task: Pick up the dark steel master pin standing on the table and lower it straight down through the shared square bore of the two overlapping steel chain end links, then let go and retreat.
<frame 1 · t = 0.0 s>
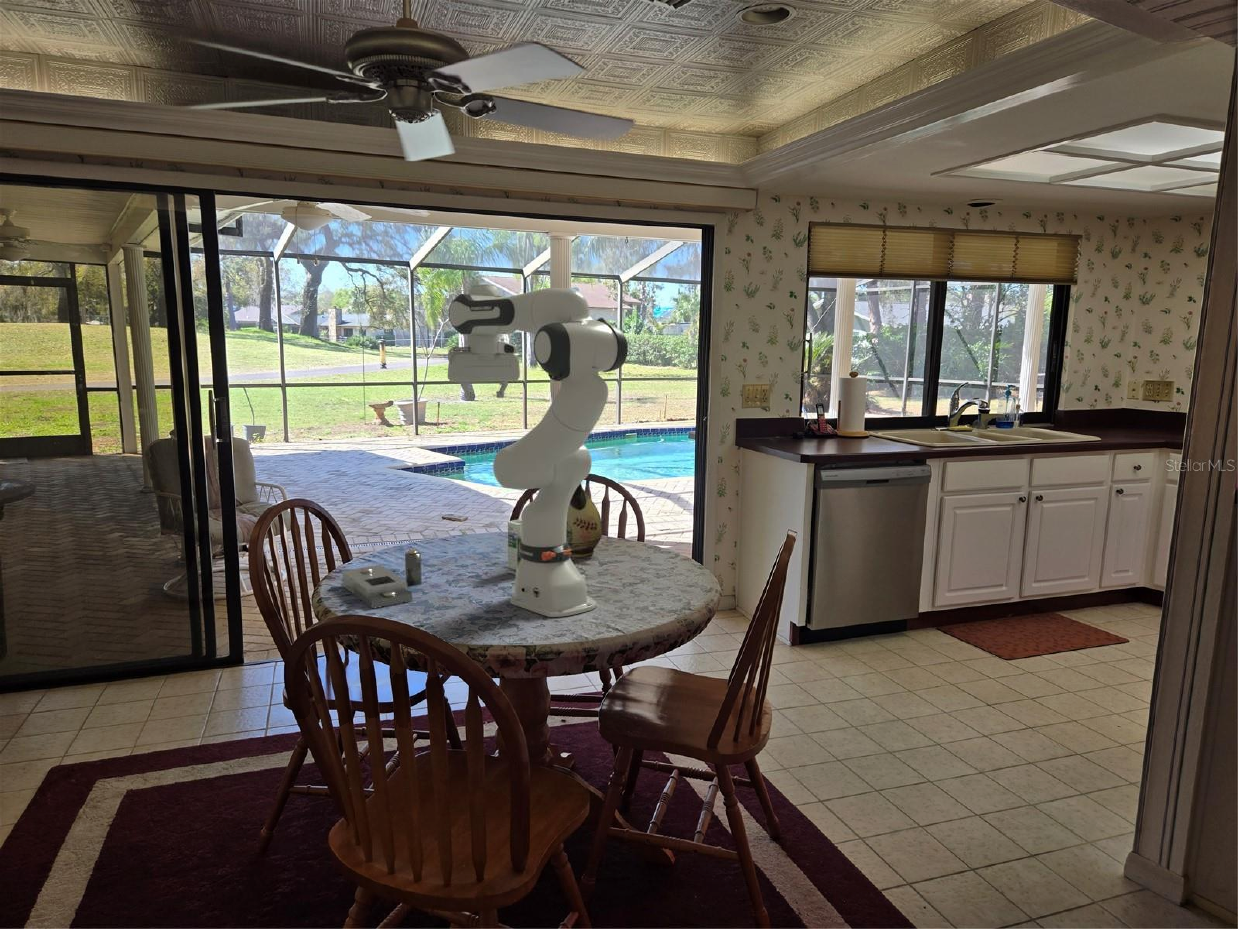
hand: (484, 398, 210), 48 cm above the table, fingers open, 8 cm apart
inner link end: (380, 596, 193), on the table
master pin: (413, 583, 204), on the table
ceramic jug: (577, 555, 233), on the table
syrup box: (521, 573, 214), on the table
outer link end: (380, 596, 193), on the table
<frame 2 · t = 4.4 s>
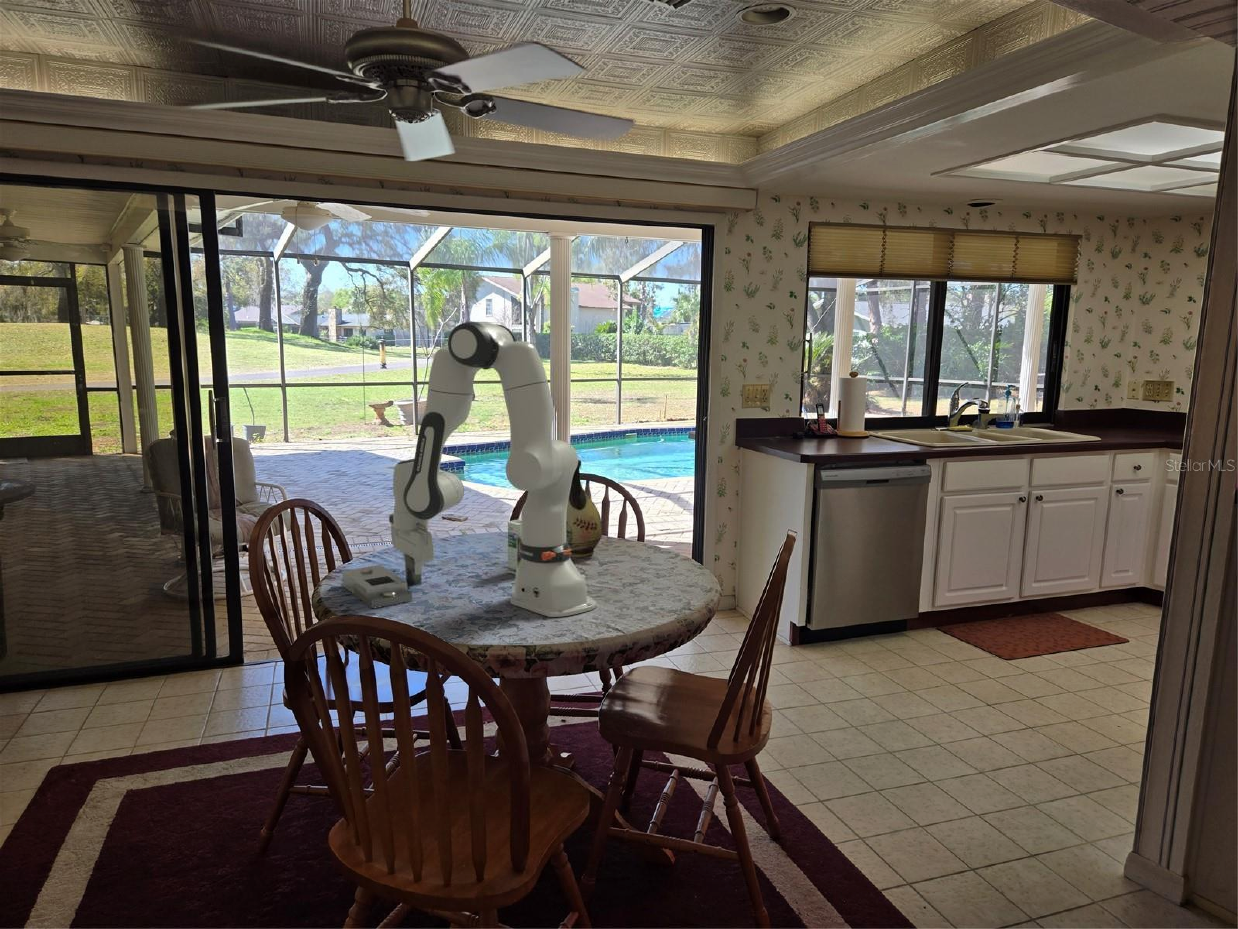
hand: (413, 571, 203), 3 cm above the table, fingers closed on master pin, 4 cm apart
master pin: (413, 583, 204), on the table, touching gripper
everything else where it was.
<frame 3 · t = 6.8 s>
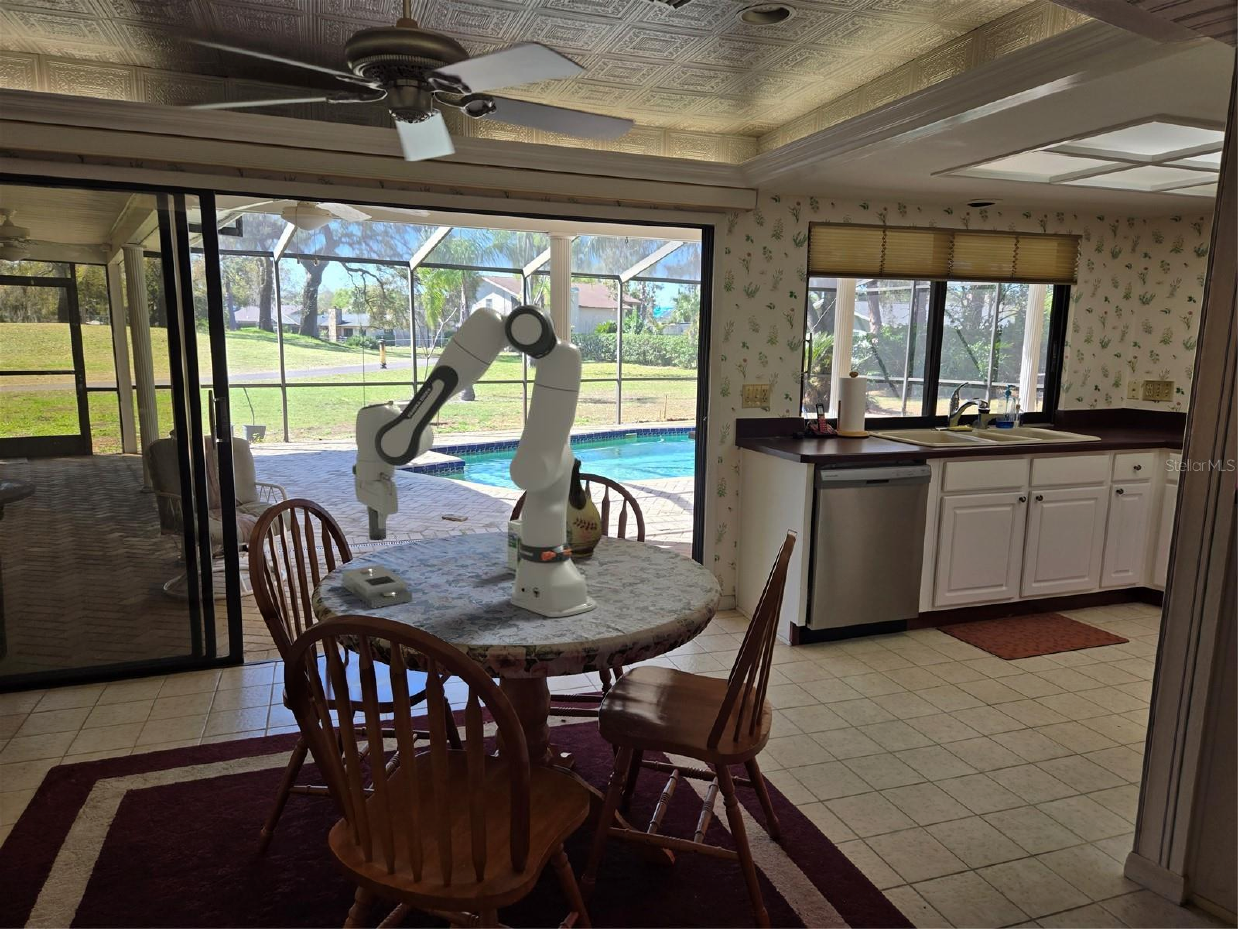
hand: (377, 526, 190), 18 cm above the table, fingers closed on master pin, 4 cm apart
master pin: (377, 538, 190), point 15 cm above the table, touching gripper
everything else where it was.
when the fingers open (5 cm above the table, at t = 9.4 s): master pin drops 1 cm, resting in inner link end.
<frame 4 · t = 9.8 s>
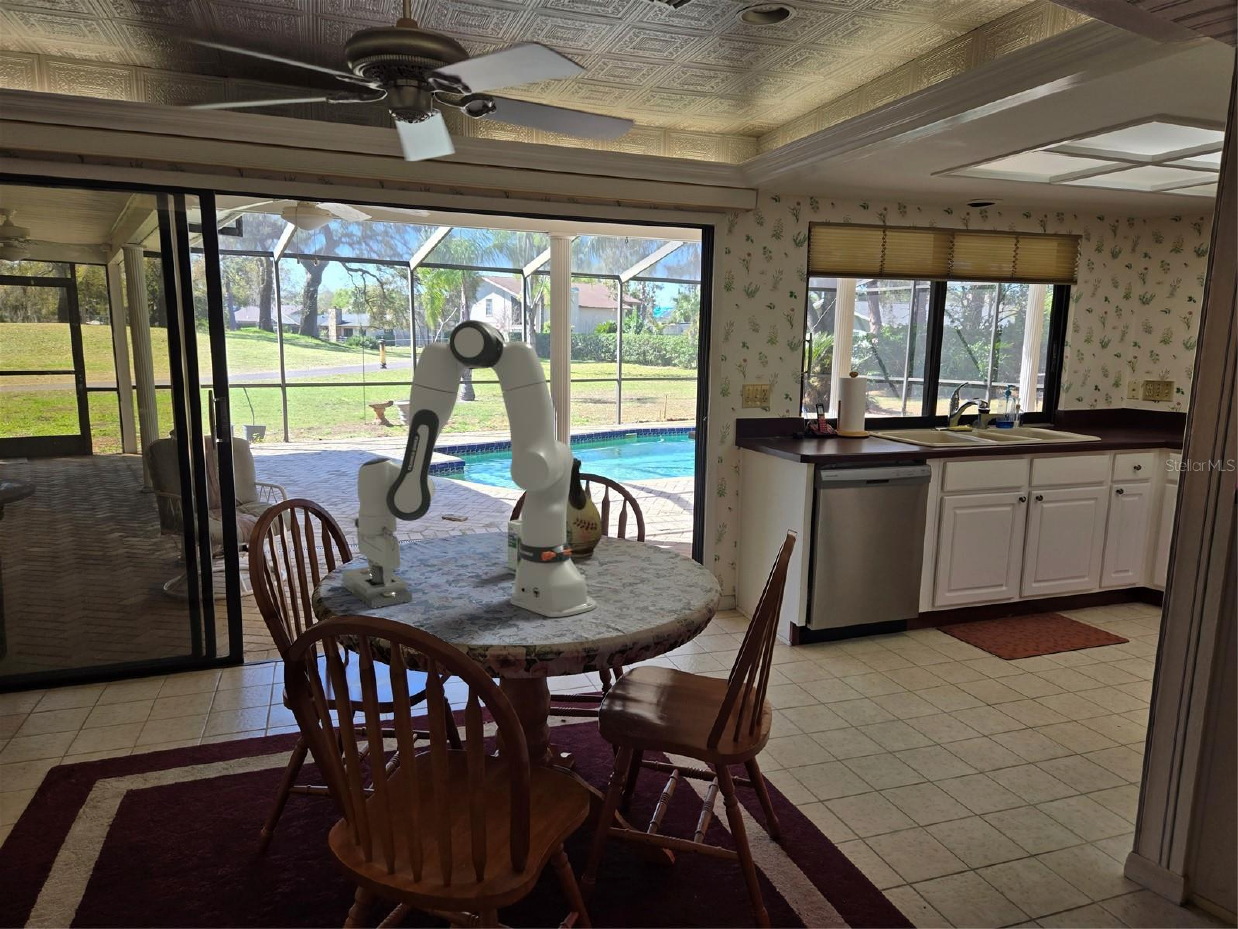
hand: (380, 578, 192), 5 cm above the table, fingers open, 8 cm apart
master pin: (380, 596, 193), resting in inner link end
everything else where it was.
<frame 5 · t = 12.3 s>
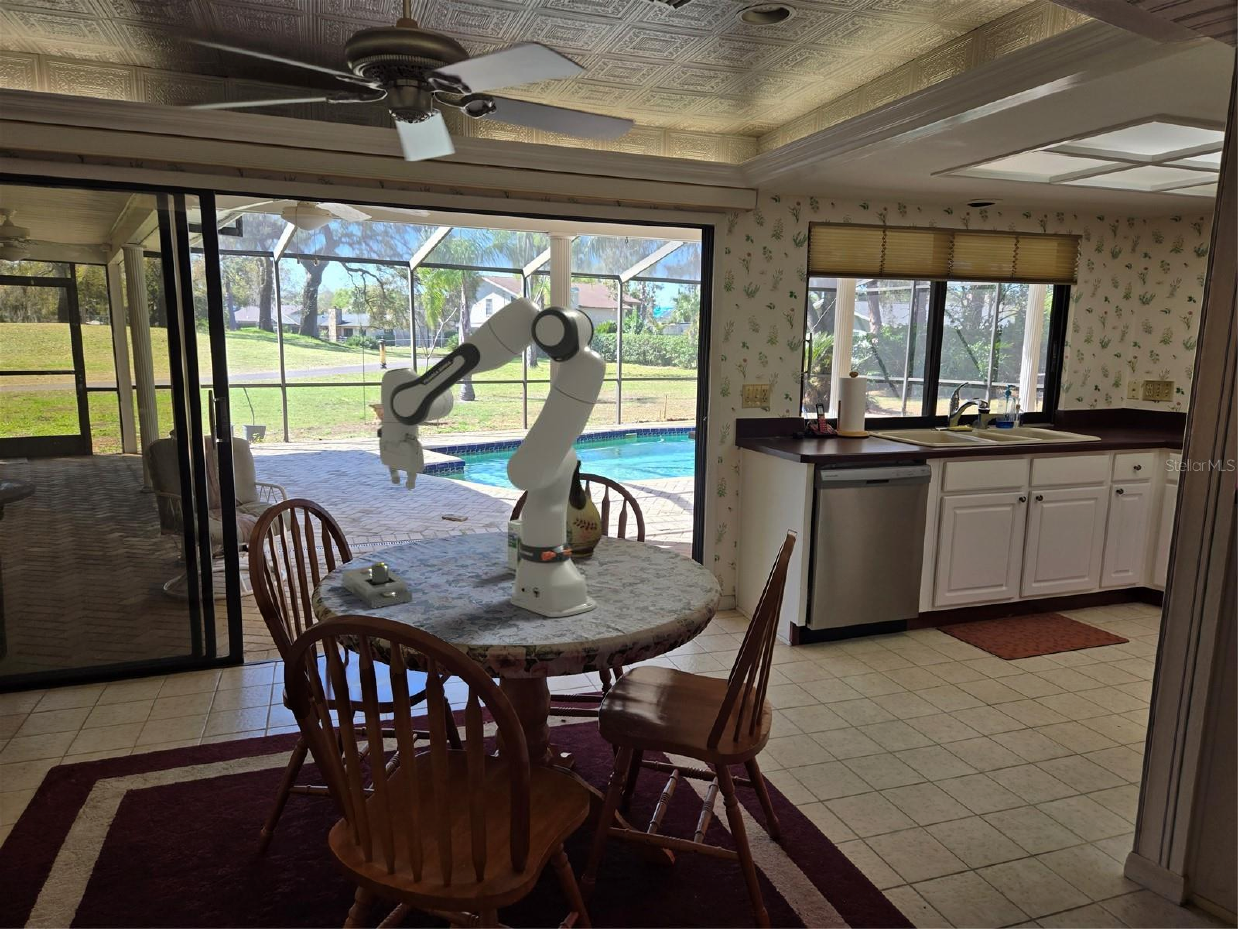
hand: (403, 486, 198), 26 cm above the table, fingers open, 8 cm apart
nothing on the table moved.
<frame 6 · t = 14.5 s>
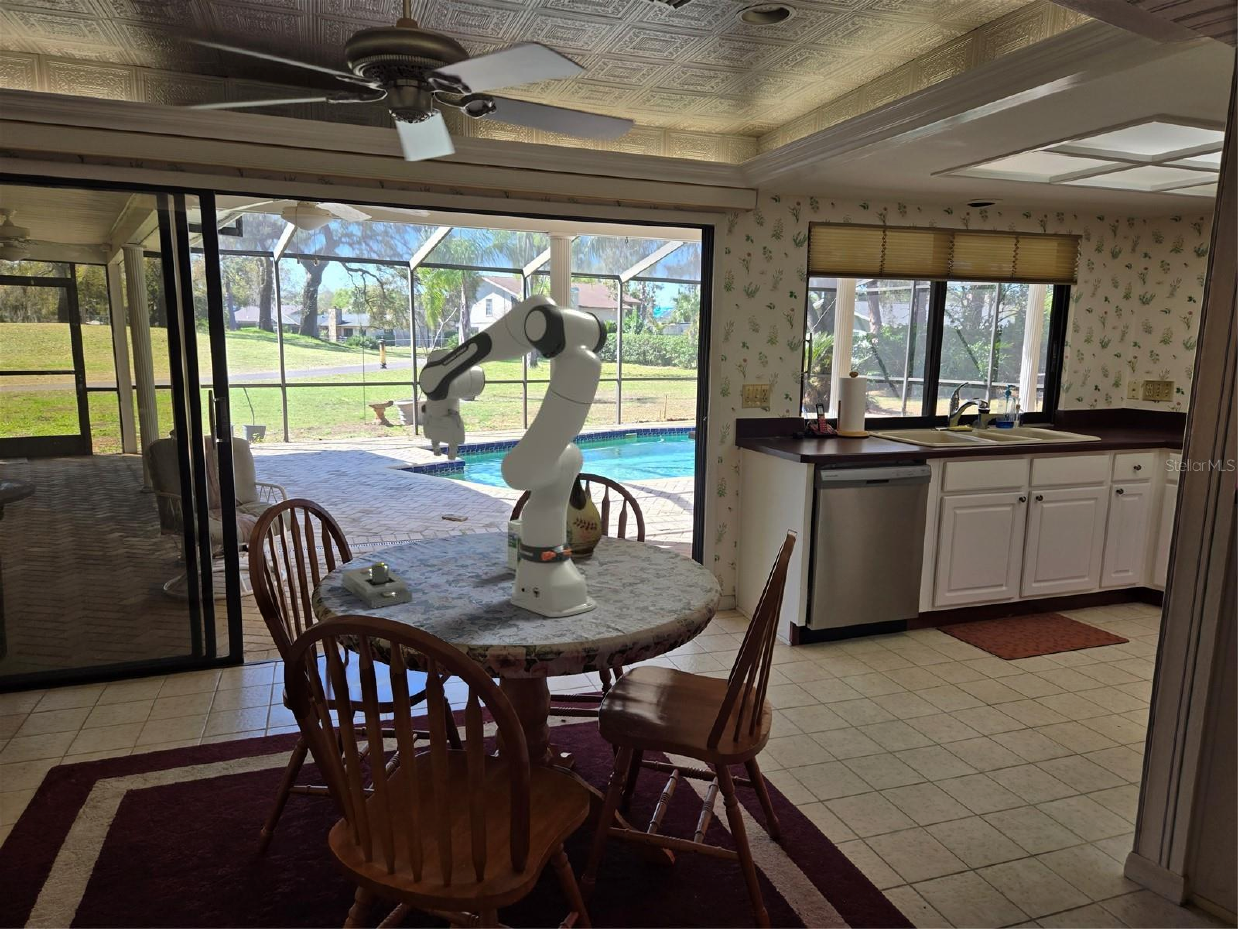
hand: (444, 457, 215), 31 cm above the table, fingers open, 8 cm apart
nothing on the table moved.
at the end: master pin 0.1 cm from the target spot, resting in inner link end; master pin tilted 0°; the gripper is holding nothing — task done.
